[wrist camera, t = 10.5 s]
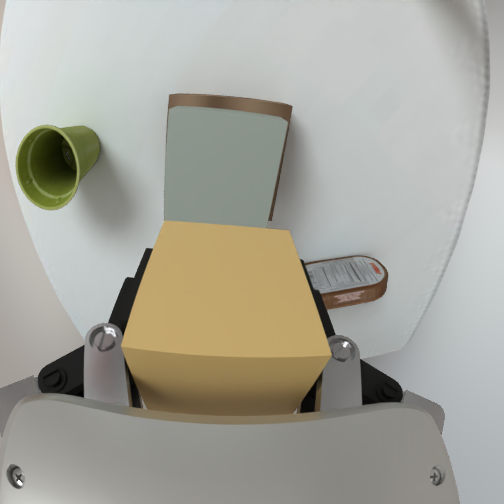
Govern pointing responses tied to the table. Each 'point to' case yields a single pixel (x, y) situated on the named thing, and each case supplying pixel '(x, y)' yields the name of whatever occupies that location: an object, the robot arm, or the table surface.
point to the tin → (348, 280)
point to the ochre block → (224, 323)
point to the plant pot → (55, 163)
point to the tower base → (240, 105)
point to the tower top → (221, 165)
